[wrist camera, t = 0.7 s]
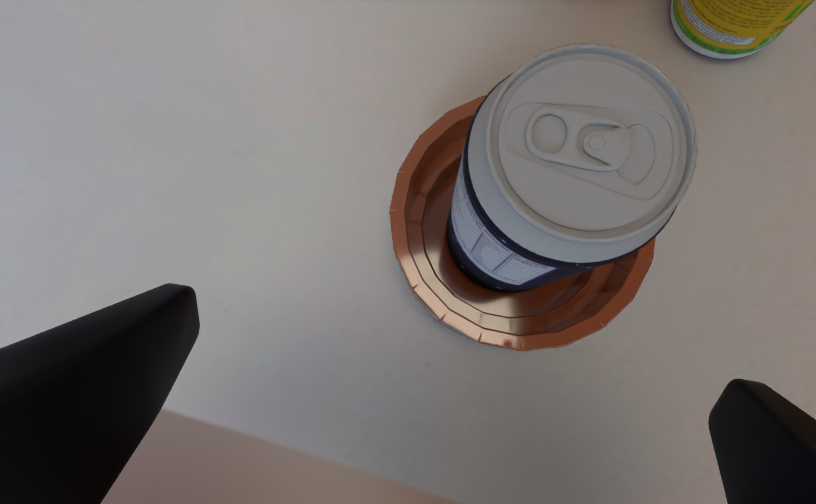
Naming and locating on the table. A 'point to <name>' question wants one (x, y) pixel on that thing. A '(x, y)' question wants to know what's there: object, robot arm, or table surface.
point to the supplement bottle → (732, 24)
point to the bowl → (471, 303)
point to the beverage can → (569, 168)
